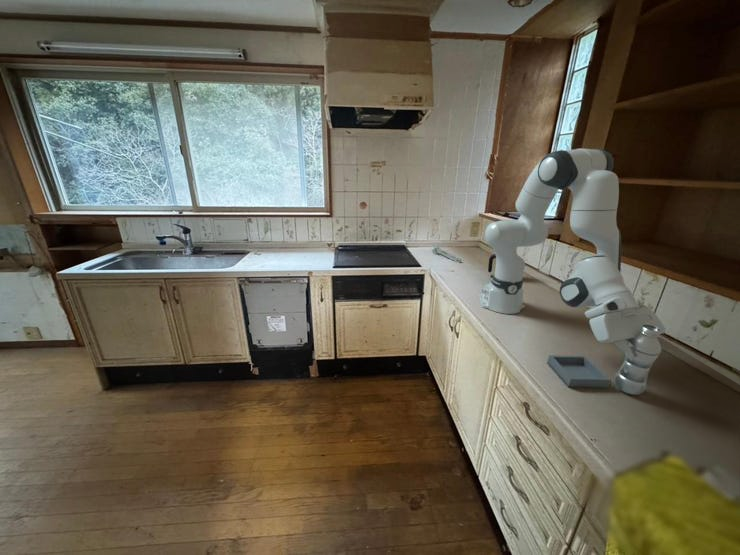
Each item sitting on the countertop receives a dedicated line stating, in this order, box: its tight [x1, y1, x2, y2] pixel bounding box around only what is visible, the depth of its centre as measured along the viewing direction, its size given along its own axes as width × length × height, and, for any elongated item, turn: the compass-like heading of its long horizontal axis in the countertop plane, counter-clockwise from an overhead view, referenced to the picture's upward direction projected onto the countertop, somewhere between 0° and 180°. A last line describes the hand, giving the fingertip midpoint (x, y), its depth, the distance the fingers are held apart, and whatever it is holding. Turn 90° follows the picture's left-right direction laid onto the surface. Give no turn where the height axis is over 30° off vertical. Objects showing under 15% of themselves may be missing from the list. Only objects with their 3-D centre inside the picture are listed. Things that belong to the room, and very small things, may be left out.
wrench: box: [430, 241, 462, 264], centre depth 204 cm, size 8×2×30 cm
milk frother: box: [487, 253, 519, 279], centre depth 161 cm, size 14×16×15 cm
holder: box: [546, 354, 611, 389], centre depth 88 cm, size 11×11×3 cm
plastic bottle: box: [613, 324, 662, 396], centre depth 79 cm, size 6×7×20 cm
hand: (643, 355), depth 78 cm, fingers closed on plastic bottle, 6 cm apart
